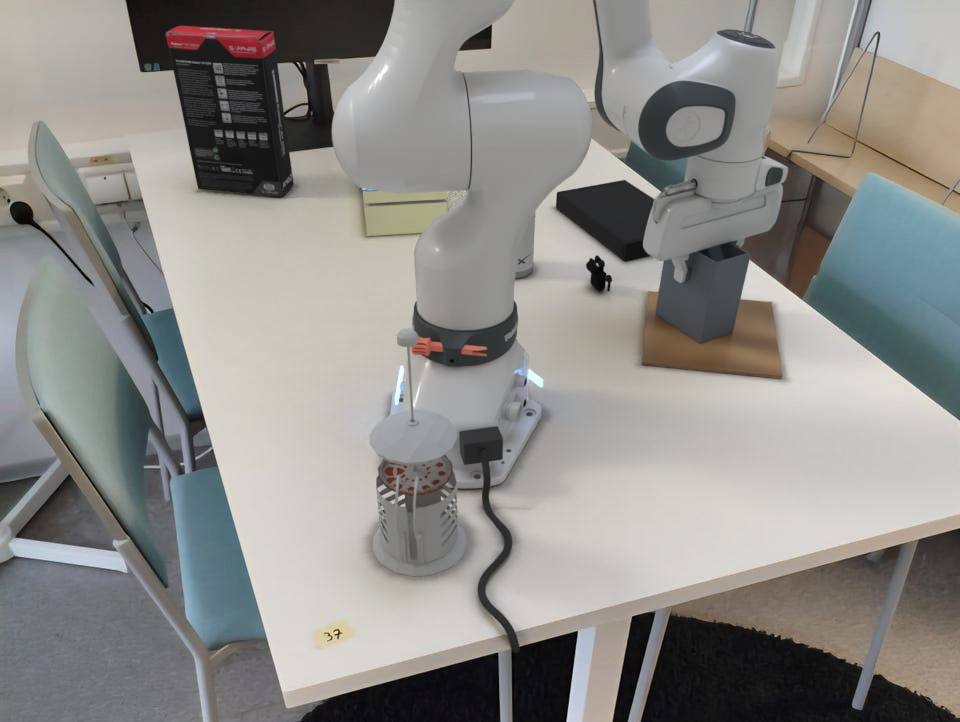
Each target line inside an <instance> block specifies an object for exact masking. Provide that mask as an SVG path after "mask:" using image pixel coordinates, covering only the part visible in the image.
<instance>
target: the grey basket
mask: <svg viewBox="0 0 960 722" xmlns="http://www.w3.org/2000/svg"><path fill="white" fill-rule="evenodd" d="M751 256H752V253H751V252H749V251H747V250H746V249H743V248H742V247H741V248H740V247H738V246H737V245H735V244H733V243H731V242H728V243H725V244H721V245H718V246H714V247H711V248H707V249H704V250H700V251H697V252H693V253H690V254H689V259H688V260H685V263H686V266H687V267H689V268H690V269H692V273H691V275H690V276H691V278H690V280H689V281H685V282H682V283H679V282H678V281H676V280H675V279H674V271H675V267H674V264H673V262H672V260H671V259H669V260H665V261H662V269H661V275H660V280H659V287H658V292H659V293H658V299H657V305H656V311H655V313H656V314H657V315H659V316H660V317H661V318H663V319H664V320H666V321H667V322H669V323H670V324H671V325H673V326H674V327H676V328H677V329H679V330H680V331H681V332H683V333H684V334H686V335H687V336H689V337H690V338H691V339H693V340H694V341H696V342H697V343H699V344H702V343H705V342H708V341H711V340H714V339H717V338H720V337H723V336H726V335H728V334H731V333H733V329H734V325H735V321H736V316H737V312H738V308H739V303H740V299H742V295H743V289H744V287H745V281H746V278H747V273H748V268H749V264H750V259H751Z"/></svg>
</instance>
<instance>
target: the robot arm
mask: <svg viewBox="0 0 960 722" xmlns="http://www.w3.org/2000/svg"><path fill="white" fill-rule="evenodd" d="M514 3H515V0H394V3H393V4H394V5H393V10H392V14H391V19H390V23H389V26H388V29H387V32H386V35H385V37H384V40H383V43H382V44H381V46H380V48H379V50H378V52H377V54H376V55H375V57H374V58H373V59H372V61H371V63H370V64H369V65H368V67H367V68H366V69H365V71H363V73H362V74H361V75H360V76H359V77H358V78H357V79H356V80H354V81H353V82H352V83H351V84H350V85H349V86H348V87H347V88H346V89H345V90H344V92H343V93H342V95H341V96H340V98H339V100H338V102H337V104H336V107H335V110H334V112H333V116H332V122H331V142H332V147H333V151H334V154H335V157H336V160H337V162H338V164H339V166H340V168H341V169H342V171H343V172H344V173H345V175H346V176H347V177H348V179H350V181H351V182H352V183H353V184H354V185H355V186H357V187H358V188H361V189H362V188H365V189H371V190H377V191H384V192H392V193H399V194H411V193H428V192H445V191H447V192H459V191H460V192H461V191H466V194H465V195H464V196H463V198H462V200H461V201H460V202H459V203H458V204H457V205H456V206H454V208H452V209H450V210H448V212H447V213H446V214H444V215H442V216H440V217H439V218H437V219H436V220H434V221H433V222H432V223H430V224H429V225H428V226H427V227H426V229H425V230H424V231H423V233H420V235H419V237H418V238H417V240H416V243H415V246H414V250H413V258H414V260H413V261H414V279H415V297H416V301H415V302H414V304H413V314H412V317H411V318H412V319H411V329H413V330H414V331H415V332H416V333H417V334H418V337H419V342H418V343H417V344H416V345H415V346H412V347H410V363H411V380H412V397H413V410H423V411H428V412H434V413H437V414H439V415H441V416H443V417H445V418H447V419H448V420H449V421H450V422H451V423H452V424H453V426H454V427H455V428H456V435H457V439H456V441H455V443H454V445H453V447H452V449H450V450H449V451H448V452H447V453H445V455H446V456H447V458H448V459H449V460H450V461H451V462H452V469H453V472H454V473H455V478H456V482H457V489H481V488H482V490H481V503H482V506H483V507H482V508H483V510H484V512H485V514H486V516H487V517H488V518H489V519H490V521H491V522H492V523H493V524H494V526H495V527H496V529H498V530H499V532H500V533H501V534H502V536H503V538H504V545H503V548H502V551H501V552H500V553H499V554H498V556H497V557H496V558H495V560H493V562H492V563H491V564H489V566H487V568H485V570H484V571H483V573H482V574H481V576H480V577H479V580H478V584H477V595H478V600H479V602H480V604H481V606H482V607H483V609H484V610H486V611H487V613H489V614H490V616H492V617H493V618H494V619H495V620H496V621H497V622H498V623H499V625H501V627H502V628H503V630H504V631H505V633H506V636H507V639H508V641H509V644H510V649H511V652H513V653H514V654H517V653H519V652H520V650H521V648H520V643H519V640H518V636H517V633H516V631H515V629H514V627H513V625H512V624H511V622H510V621H509V619H508V618H507V617H506V616H505V615H504V613H502V612H501V611H500V610H499V609H498V608H497V607H495V606H494V605H493V603H492V602H491V601H490V600H489V598H488V595H487V591H486V588H487V584H488V581H489V579H490V578H491V576H492V575H493V574H494V573H495V572H496V571H497V570H498V569H499V568H500V567H501V565H502V564H503V563H504V562H505V560H507V558H508V557H509V555H510V553H511V552H512V547H513V535H512V534H511V531H510V529H509V528H508V527H507V526H506V525H505V524H504V522H502V520H500V518H498V517H497V515H496V514H495V512H494V511H493V508H492V506H491V503H490V492H491V491H490V490H491V487H493V486H496V485H500V484H502V483H503V482H504V481H505V480H506V478H507V477H508V476H509V474H510V472H511V470H512V468H513V467H514V465H515V464H516V462H517V460H518V458H519V456H520V455H521V453H522V451H523V450H524V448H525V446H526V445H527V443H528V441H529V439H530V437H531V436H532V434H533V432H534V431H535V429H536V427H537V426H538V424H539V422H540V421H541V419H542V416H543V408H542V407H543V406H541V404H539V403H538V402H537V401H535V400H533V399H532V398H530V381H532V383H534V384H536V386H538V387H539V388H543V387H544V379H543V378H542V377H540V375H538V374H537V373H535V372H534V371H533V370H531V369H530V355H529V352H528V351H527V350H526V349H525V348H524V347H523V346H522V344H521V343H520V342H519V340H518V339H517V336H518V326H519V314H518V305H517V302H516V301H515V286H516V285H515V284H516V278H515V274H516V265H517V257H518V251H519V246H520V242H521V239H522V236H523V233H524V231H525V229H526V226H527V225H528V223H529V221H530V219H531V217H532V216H533V214H534V213H535V214H536V211H537V209H539V207H540V206H541V204H542V203H543V201H544V200H546V198H548V196H549V195H550V194H551V193H552V192H553V191H554V190H555V189H557V187H559V185H561V184H563V182H565V181H566V180H568V179H569V178H571V177H572V176H573V175H575V173H576V172H577V170H579V169H580V166H581V165H582V164H583V162H584V160H585V158H586V156H587V154H588V151H589V149H590V146H591V142H592V136H593V117H592V112H591V107H590V104H589V102H588V99H587V97H586V95H585V93H584V92H583V90H582V89H581V87H580V86H579V85H578V83H577V82H576V81H575V80H574V79H573V78H572V77H569V76H564V75H561V74H556V73H551V72H545V71H540V70H539V71H538V70H532V69H507V70H506V69H505V70H483V71H461V70H456V69H455V64H456V59H457V56H458V53H459V51H460V49H461V47H462V46H463V44H465V42H466V41H467V40H469V39H470V38H471V37H473V36H476V34H479V33H481V31H483V30H485V29H486V28H488V27H490V26H491V25H493V24H495V23H496V22H497V21H499V20H500V19H501V18H502V17H504V16H505V15H506V14H507V13H508V12H509V10H510V9H511V8H512V6H513V4H514ZM592 3H593V10H594V19H595V24H596V33H597V39H598V50H599V51H598V63H597V69H596V74H595V75H596V76H595V82H594V90H593V91H594V103H595V107H596V110H597V113H598V114H599V116H600V117H601V119H602V121H604V122H605V123H606V124H607V125H608V126H610V127H611V128H613V129H614V130H617V131H618V132H620V133H621V134H622V135H624V136H625V137H626V138H627V139H629V140H630V141H631V142H632V143H633V144H634V145H636V146H638V148H640V149H641V150H642V151H644V152H645V153H646V154H648V155H649V156H651V157H653V158H655V159H657V160H660V161H667V162H669V161H671V162H672V161H677V160H683V159H686V158H687V162H686V168H685V176H684V181H683V182H680V183H677V184H669V185H667V186H665V187H664V188H663V190H662V191H661V192H659V193H658V195H657V196H655V197H654V198H653V199H654V202H653V207H652V209H651V212H650V215H649V219H648V222H647V226H646V230H645V235H644V240H643V248H644V249H645V251H646V252H647V253H648V254H649V255H651V256H650V257H652V258H653V259H655V260H658V261H660V262H664V261H665V260H669V259H671V260H672V262H673V264H674V267H675V271H674V279H675V280H676V281H678V282H679V283H682V282H685V281H689V280H690V278H691V276H690V275H691V273H692V269H690V268H689V267H687V266H686V263H685V260H688V259H689V254H690V253H693V252H697V251H700V250H704V249H707V248H711V247H714V246H718V245H721V244H725V243H728V242H731V243H733V244H735V245H737V246H738V247H740V248H742V247H743V246H744V244H745V241H746V240H745V239H746V238H749V237H752V236H756V235H760V234H764V233H767V232H769V231H770V230H771V229H772V228H773V227H774V225H775V224H776V222H777V220H778V217H779V213H780V210H781V206H782V205H781V204H782V201H783V194H784V187H783V183H785V181H786V180H787V177H788V173H789V168H788V166H786V165H784V164H783V163H781V162H779V161H778V160H775V159H772V158H771V157H768V156H766V155H764V134H765V130H766V128H767V126H768V124H769V122H770V120H771V117H772V112H773V107H774V103H775V98H776V92H777V86H778V85H777V84H778V78H779V62H780V61H779V52H778V49H777V47H776V46H775V45H774V44H773V43H772V42H771V41H769V40H768V39H767V38H764V37H762V36H761V35H758V34H754V33H750V32H748V31H744V30H739V29H732V28H731V29H729V28H728V29H727V28H726V29H721V30H717V31H715V33H714V34H713V36H712V37H711V38H710V40H708V41H707V42H706V43H705V44H704V45H703V46H702V47H700V48H699V49H698V50H696V51H694V53H692V54H690V55H689V56H687V57H685V58H682V59H681V60H679V61H676V62H673V61H672V60H669V59H668V58H667V57H666V55H665V54H664V53H663V52H662V50H661V49H660V48H659V46H658V44H657V43H656V41H655V38H654V36H653V31H652V20H651V10H650V0H592ZM405 369H406V370H405V380H404V381H403V377H404V365H400V367H399V372H398V379H397V384H396V389H395V390H394V391H393V392H392V395H391V401H390V402H391V403H390V410H389V416H390V415H393V414H396V413H400V412H403V411H407V410H411V403H410V387H409V372H408V357H406V368H405ZM445 485H446V486H447V487H449V488H450V489H454V487H453V486H452V485H451V484H449V483H448V482H447V483H446V484H445Z"/></svg>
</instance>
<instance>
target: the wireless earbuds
mask: <svg viewBox="0 0 960 722" xmlns="http://www.w3.org/2000/svg"><path fill="white" fill-rule="evenodd" d="M605 267H606V263H605V260H604V259H602V257H600V256H599V255H598V254H597V255H595V256H594V258H593V257H590V258H589V259H588V261H587V262H586V264H585V268H586V270H587V271H588V272H589V273H590V281H589V282H590V286H592V287H593V288H594V289H595V290H596V291H597V292H599V293H600V292H603V291H604V290H605V289H606V292H609V293H610V292H611V285H612V282H613V277H612V275H611V274H608V273H607V272H606V271H605V270H604V269H605ZM606 284H607V286H606ZM606 287H607V288H606Z"/></svg>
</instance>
